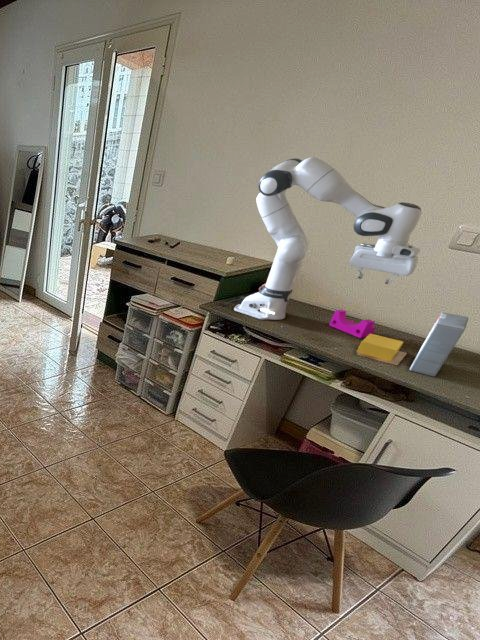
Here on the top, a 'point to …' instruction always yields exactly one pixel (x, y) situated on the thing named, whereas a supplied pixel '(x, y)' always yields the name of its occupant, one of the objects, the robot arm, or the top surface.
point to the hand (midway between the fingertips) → (373, 281)
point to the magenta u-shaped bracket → (352, 325)
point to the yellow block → (380, 347)
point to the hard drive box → (439, 343)
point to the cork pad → (394, 361)
